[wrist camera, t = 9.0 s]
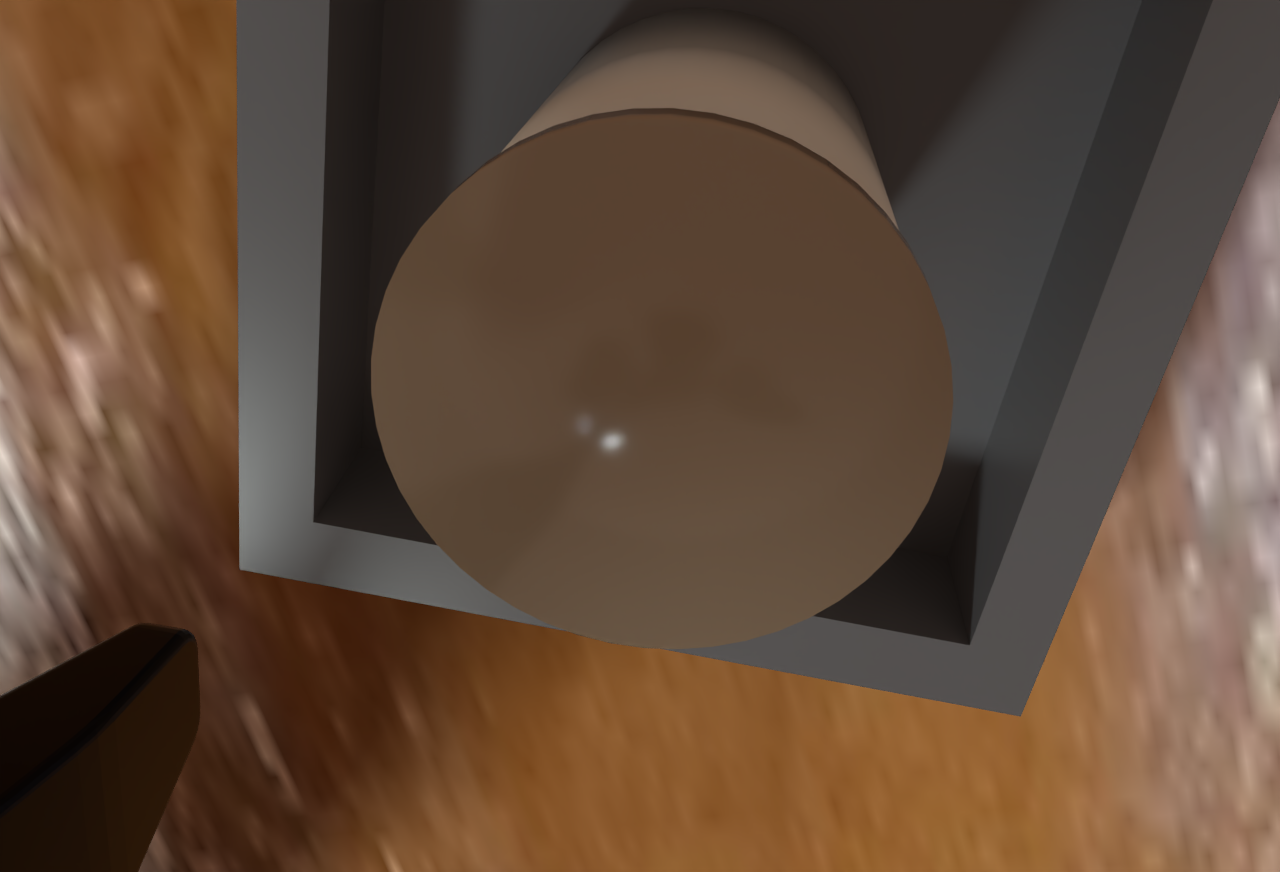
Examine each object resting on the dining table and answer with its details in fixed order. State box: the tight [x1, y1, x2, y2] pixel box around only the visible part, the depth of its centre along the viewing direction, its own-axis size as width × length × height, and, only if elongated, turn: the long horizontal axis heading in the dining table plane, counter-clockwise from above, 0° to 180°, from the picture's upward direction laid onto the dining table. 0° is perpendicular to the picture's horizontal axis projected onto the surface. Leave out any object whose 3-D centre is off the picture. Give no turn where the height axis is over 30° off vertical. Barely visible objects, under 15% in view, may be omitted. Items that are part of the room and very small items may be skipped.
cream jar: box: [371, 8, 953, 649], centre depth 14 cm, size 5×5×8 cm
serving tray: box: [237, 0, 1280, 716], centre depth 17 cm, size 13×14×4 cm
